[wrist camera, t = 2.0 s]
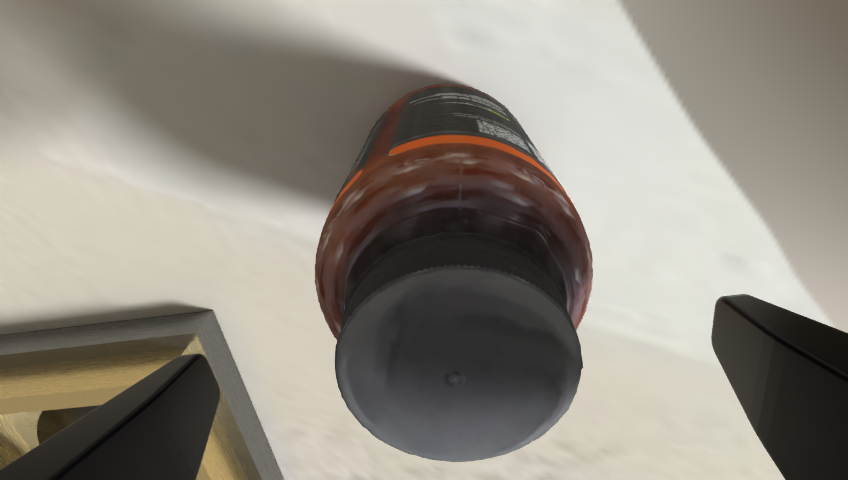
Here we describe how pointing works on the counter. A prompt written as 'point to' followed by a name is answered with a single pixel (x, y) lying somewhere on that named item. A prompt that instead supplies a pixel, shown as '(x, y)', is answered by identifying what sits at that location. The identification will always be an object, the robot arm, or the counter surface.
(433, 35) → the counter surface
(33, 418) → the gold-rimmed square tray
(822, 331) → the robot arm
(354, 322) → the supplement bottle
